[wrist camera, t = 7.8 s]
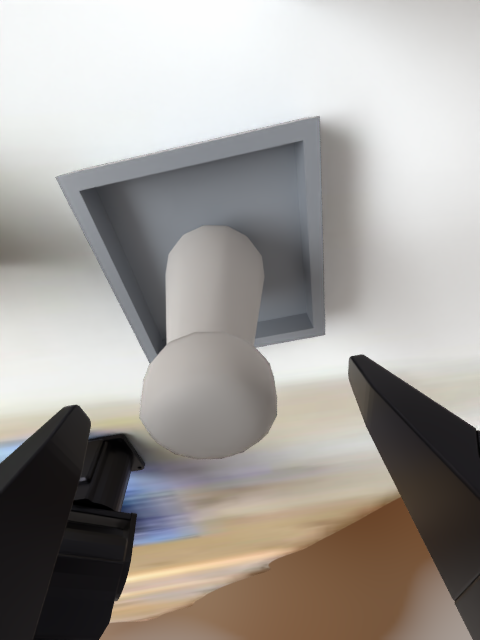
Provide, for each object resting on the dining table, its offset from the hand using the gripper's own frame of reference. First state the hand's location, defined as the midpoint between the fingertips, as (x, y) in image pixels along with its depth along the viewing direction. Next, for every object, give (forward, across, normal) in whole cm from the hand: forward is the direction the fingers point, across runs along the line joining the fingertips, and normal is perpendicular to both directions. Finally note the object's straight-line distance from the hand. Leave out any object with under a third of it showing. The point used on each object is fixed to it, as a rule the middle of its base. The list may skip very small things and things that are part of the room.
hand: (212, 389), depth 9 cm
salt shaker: (+12, 0, 0) cm, 12 cm away
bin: (+12, 0, 0) cm, 13 cm away
